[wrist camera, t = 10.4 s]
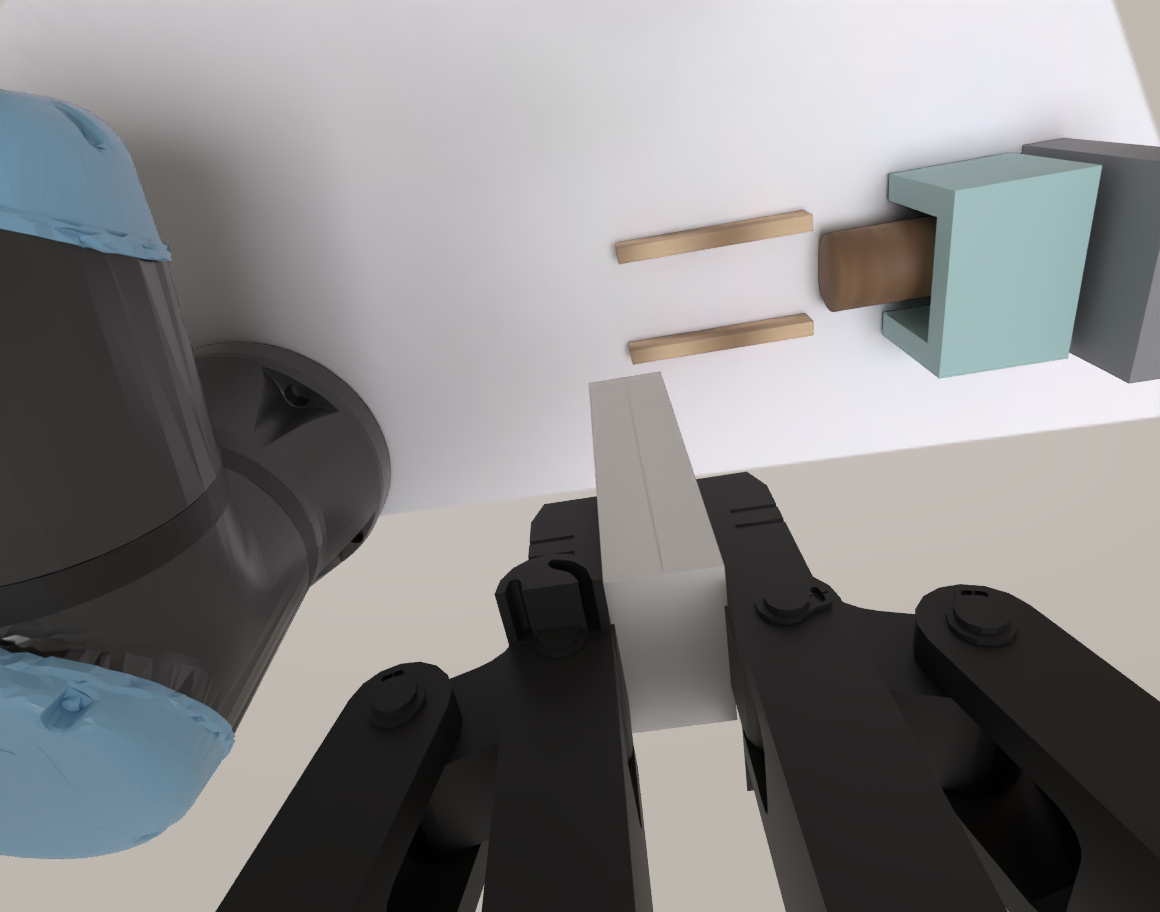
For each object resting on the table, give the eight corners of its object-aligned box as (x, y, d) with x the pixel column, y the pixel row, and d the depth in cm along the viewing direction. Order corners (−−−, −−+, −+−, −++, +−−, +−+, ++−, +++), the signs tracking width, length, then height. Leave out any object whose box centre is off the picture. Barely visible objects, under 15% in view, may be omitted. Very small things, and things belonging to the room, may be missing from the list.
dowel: (817, 301, 38) (843, 320, 35) (816, 227, 37) (843, 240, 33) (963, 277, 38) (1004, 294, 34) (970, 201, 36) (1014, 211, 32)
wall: (1001, 316, 39) (1129, 383, 30) (1023, 145, 35) (1179, 163, 26) (1037, 311, 39) (1176, 376, 30) (1063, 137, 34) (1234, 153, 26)
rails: (630, 355, 40) (632, 364, 38) (615, 242, 37) (616, 248, 35) (805, 326, 39) (813, 335, 38) (804, 209, 36) (813, 214, 35)
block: (882, 334, 39) (939, 378, 33) (889, 173, 35) (955, 190, 29) (990, 317, 38) (1067, 358, 33) (1010, 152, 34) (1102, 165, 29)
